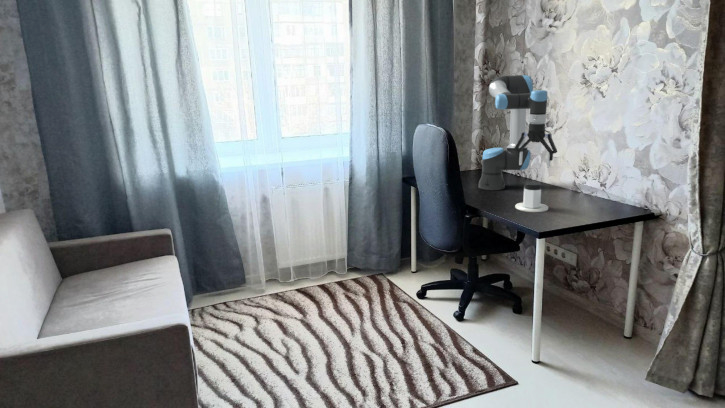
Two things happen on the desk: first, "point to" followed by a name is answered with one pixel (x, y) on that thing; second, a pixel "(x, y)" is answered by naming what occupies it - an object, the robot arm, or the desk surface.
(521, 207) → the plate
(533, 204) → the jar
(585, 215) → the desk surface
